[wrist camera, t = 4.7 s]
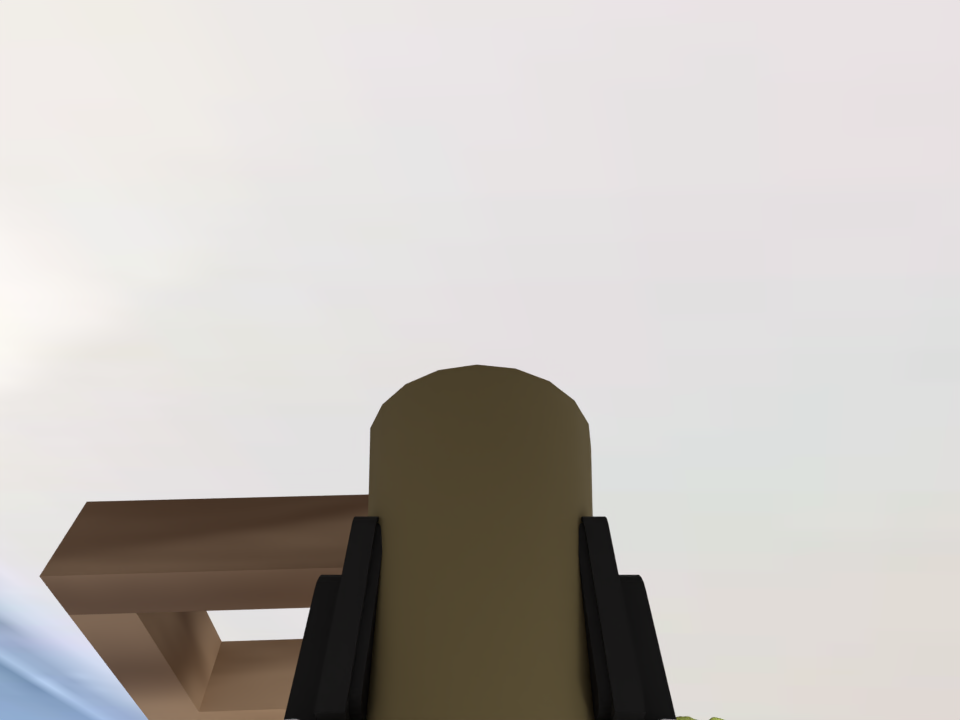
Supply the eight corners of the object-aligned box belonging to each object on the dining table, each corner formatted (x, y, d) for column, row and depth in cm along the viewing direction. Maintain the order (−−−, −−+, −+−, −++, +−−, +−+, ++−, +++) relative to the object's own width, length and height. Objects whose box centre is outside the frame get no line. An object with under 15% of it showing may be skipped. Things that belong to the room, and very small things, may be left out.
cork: (384, 520, 18) (296, 1092, 10) (351, 367, 14) (159, 1089, 6) (582, 516, 18) (675, 1092, 9) (602, 361, 14) (789, 1089, 6)
